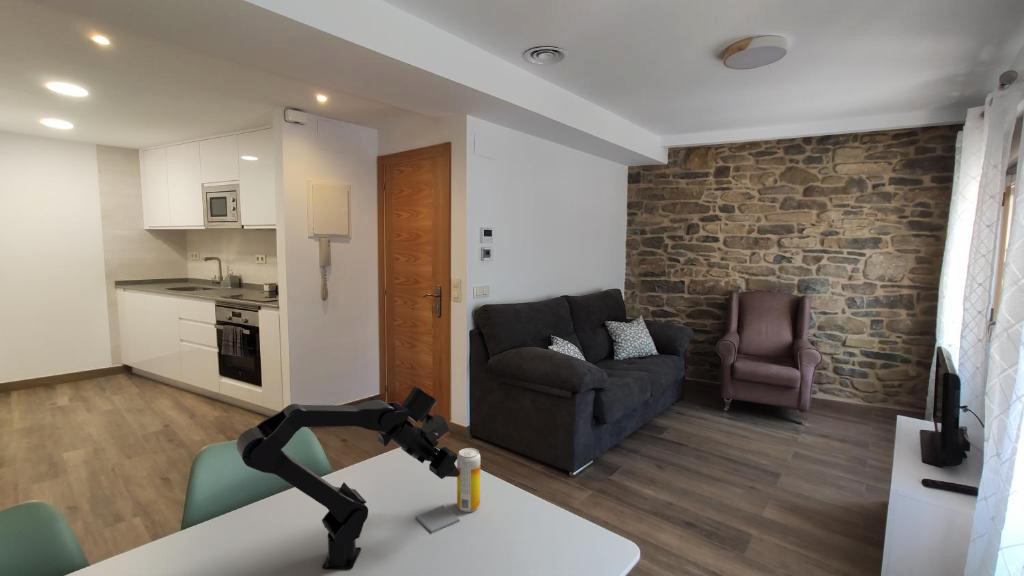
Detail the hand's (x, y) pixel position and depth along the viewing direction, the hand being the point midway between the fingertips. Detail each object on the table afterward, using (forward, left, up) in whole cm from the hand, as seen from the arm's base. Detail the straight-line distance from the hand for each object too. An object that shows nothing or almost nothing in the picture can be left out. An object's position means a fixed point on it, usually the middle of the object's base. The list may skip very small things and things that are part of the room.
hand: (448, 467), depth 118 cm
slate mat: (-2, +3, -13) cm, 13 cm away
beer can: (+4, -5, -13) cm, 14 cm away
